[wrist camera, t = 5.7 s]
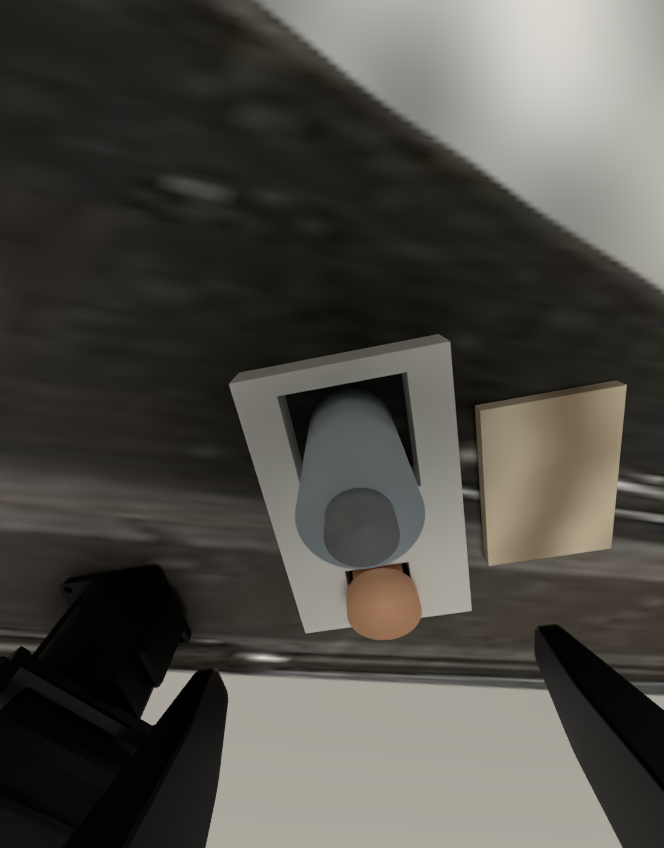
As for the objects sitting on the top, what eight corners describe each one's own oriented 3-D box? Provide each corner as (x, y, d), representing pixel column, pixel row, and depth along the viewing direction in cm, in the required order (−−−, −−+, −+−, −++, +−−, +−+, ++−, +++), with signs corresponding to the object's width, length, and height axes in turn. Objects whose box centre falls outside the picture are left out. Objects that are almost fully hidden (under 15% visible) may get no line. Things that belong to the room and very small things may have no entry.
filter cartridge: (318, 469, 21) (308, 599, 13) (301, 396, 20) (276, 489, 11) (397, 456, 21) (438, 580, 13) (386, 380, 19) (424, 464, 11)
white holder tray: (307, 606, 25) (305, 633, 23) (238, 372, 19) (228, 383, 17) (461, 584, 24) (471, 610, 23) (438, 334, 18) (450, 341, 17)
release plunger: (351, 601, 24) (353, 644, 21) (340, 551, 23) (340, 590, 20) (414, 592, 24) (425, 635, 21) (407, 541, 22) (417, 579, 20)
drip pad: (483, 556, 24) (488, 566, 23) (474, 405, 20) (480, 410, 19) (602, 539, 23) (611, 548, 22) (615, 380, 19) (626, 385, 19)
